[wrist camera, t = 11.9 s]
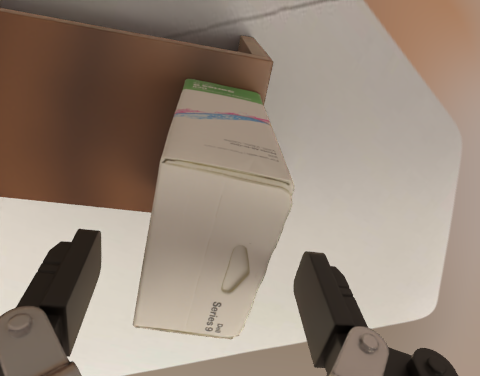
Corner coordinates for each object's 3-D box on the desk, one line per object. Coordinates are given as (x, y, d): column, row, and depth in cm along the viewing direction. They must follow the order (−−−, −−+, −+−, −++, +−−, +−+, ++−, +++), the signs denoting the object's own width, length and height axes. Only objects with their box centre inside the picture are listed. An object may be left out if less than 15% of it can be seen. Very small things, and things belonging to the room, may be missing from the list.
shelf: (254, 37, 30) (290, 82, 17) (230, 163, 36) (243, 267, 23) (-34, -18, 26) (-266, -16, 13) (-8, 132, 32) (-152, 234, 19)
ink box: (231, 204, 26) (247, 346, 16) (160, 192, 25) (130, 336, 15) (262, 91, 22) (311, 186, 12) (180, 72, 21) (156, 158, 11)
